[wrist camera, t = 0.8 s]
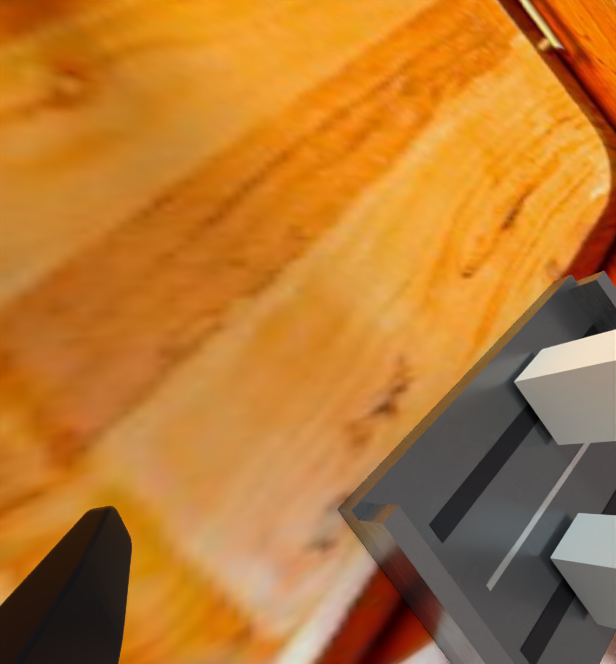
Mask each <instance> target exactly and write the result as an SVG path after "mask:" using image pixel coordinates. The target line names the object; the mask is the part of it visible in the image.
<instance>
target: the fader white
mask: <svg viewBox="0 0 616 664" xmlns="http://www.w3.org/2000/svg"><path fill="white" fill-rule="evenodd" d="M514 383H515V384H516V386H517V387H518V388H519V390H520V391H521V393H522V394H523V395H524V397H525V398H526V400H527V401H528V403H529V404H530V405H531V407H532V408H533V410H534V411H535V413H536V414H537V415H538V417H539V418H540V420H541V421H542V423H543V424H544V425H545V427H546V428H547V430H548V431H549V432H550V434H551V435H552V437H553V438H554V440H555V441H556V442H557V444H558V445H566V444H580V443H595V442H609V441H616V330H612V331H608V332H604V333H601V334H597V335H593V336H589V337H586V338H582V339H578V340H575V341H571V342H567V343H563V344H560V345H556V346H552V347H549V348H545V349H542V350H541V351H540V352H539V353H538V355H537V356H536V357H535V358H534V359H533V360H532V362H531V363H530V364H529V365H528V366H527V367H526V369H525V370H524V371H523V372H522V373H521V374H520V375H519V377H518V378H517V379H516V380H515V381H514Z"/></svg>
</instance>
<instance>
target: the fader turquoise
mask: <svg viewBox="0 0 616 664" xmlns="http://www.w3.org/2000/svg"><path fill="white" fill-rule="evenodd" d="M550 558H551V560H552V561H553V563H554V564H555V565H556V567H557V568H558V570H559V571H560V572H561V574H562V575H563V577H564V578H565V579H566V581H567V582H568V584H569V585H570V586H571V588H572V589H573V591H574V592H575V593H576V595H577V596H578V598H579V599H580V600H581V602H582V603H583V605H584V606H585V607H586V609H587V610H588V612H589V613H590V614H591V616H592V617H593V619H594V620H595V621H596V623H597V624H599V625H602V626H606V627H610V628H614V629H616V515H601V514H585V513H578V514H577V516H576V518H575V519H574V521H573V522H572V524H571V525H570V527H569V529H568V530H567V532H566V533H565V535H564V537H563V538H562V540H561V541H560V543H559V545H558V546H557V548H556V549H555V551H554V552H553V554H552V556H551V557H550Z"/></svg>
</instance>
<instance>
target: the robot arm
mask: <svg viewBox="0 0 616 664" xmlns="http://www.w3.org/2000/svg"><path fill="white" fill-rule="evenodd" d="M131 553H132V543H131V538H130V535H129V533H128V531H127V529H126V527H125V525H124V523H123V521H122V519H121V517H120V515H119V513H118V511H117V510H116V508H114V507H113V506H106V507H100V508H94V509H91V510H89V511H87V512H86V513H85V514H84V515H83V516H82V518H81V519H80V520H79V521H78V522H77V523H76V524H75V525H74V526H73V527H72V528H71V529H70V531H69V532H68V533H67V534H66V535H65V536H64V537H63V538H62V539H61V540H60V541H59V543H58V544H57V545H56V546H55V547H54V548H53V549H52V550H51V551H50V552H49V553H48V554H47V556H46V557H45V558H44V559H43V560H42V561H41V562H40V563H39V564H38V565H37V566H36V568H35V569H34V570H33V571H32V572H31V573H30V574H29V575H28V576H27V577H26V578H25V579H24V581H23V582H22V583H21V584H20V585H19V586H18V587H17V588H16V589H15V590H14V591H13V593H12V594H11V595H10V596H9V597H8V598H7V599H6V600H5V601H4V602H3V603H2V604H1V606H0V664H118V662H119V657H120V651H121V646H122V640H123V633H124V625H125V615H126V605H127V594H128V584H129V574H130V564H131Z"/></svg>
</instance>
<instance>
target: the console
mask: <svg viewBox="0 0 616 664" xmlns="http://www.w3.org/2000/svg"><path fill="white" fill-rule="evenodd" d="M612 330H616V288H615V286H614V285H613V283H612V282H611V280H610V279H609V277H608V276H607V275H606V273H605V272H604V271H602V272H600V273H597V274H594V275H592V276H589V277H587V278H584V279H581V280H579V281H576V280H575V279H574V277H573V276H572V275H569V276H567V277H564V278H562V279H559V280H557V281H554V283H553V284H552V285H551V286H550V287H549V288H548V289H547V290H546V291H545V292H544V293H543V294H542V295H541V296H540V297H539V298H538V299H537V300H536V301H535V302H534V304H533V305H532V306H531V307H530V308H529V309H528V310H527V311H526V312H525V313H524V314H523V315H522V316H521V317H520V318H519V319H518V320H517V321H516V322H515V323H514V324H513V326H512V327H511V328H510V329H509V330H508V331H507V332H506V333H505V334H504V335H503V336H502V337H501V338H500V339H499V340H498V341H497V342H496V343H495V344H494V345H493V347H492V348H491V349H490V350H489V351H488V352H487V353H486V354H485V355H484V356H483V357H482V358H481V359H480V360H479V361H478V362H477V363H476V364H475V365H474V366H473V367H472V369H471V370H470V371H469V372H468V373H467V374H466V375H465V376H464V377H463V378H462V379H461V380H460V381H459V382H458V383H457V384H456V385H455V386H454V387H453V388H452V389H451V391H450V392H449V393H448V394H447V395H446V396H445V397H444V398H443V399H442V400H441V401H440V402H439V403H438V404H437V405H436V406H435V407H434V408H433V409H432V410H431V412H430V413H429V414H428V415H427V416H426V417H425V418H424V419H423V420H422V421H421V422H420V423H419V424H418V425H417V426H416V427H415V428H414V429H413V430H412V431H411V432H410V434H409V435H408V436H407V437H406V438H405V439H404V440H403V441H402V442H401V443H400V444H399V445H398V446H397V447H396V448H395V449H394V450H393V451H392V452H391V453H390V455H389V456H388V457H387V458H386V459H385V460H384V461H383V462H382V463H381V464H380V465H379V466H378V467H377V468H376V469H375V470H374V471H373V472H372V473H371V474H370V475H369V477H368V478H367V479H366V480H365V481H364V482H363V483H362V484H361V485H360V486H359V487H358V488H357V489H356V490H355V491H354V492H353V493H352V494H351V495H350V496H349V498H348V499H347V500H346V501H345V502H344V503H343V504H342V505H341V506H340V507H339V508H338V510H339V512H340V513H341V514H342V516H343V517H344V518H345V520H346V521H347V523H348V524H349V525H350V527H351V528H352V529H353V531H354V532H355V533H356V535H357V536H358V537H359V539H360V540H361V542H362V543H363V544H364V546H365V547H366V548H367V550H368V551H369V552H370V554H371V555H372V556H373V558H374V559H375V561H376V562H377V563H378V565H379V566H380V567H381V569H382V570H383V571H384V573H385V574H386V575H387V577H388V578H389V580H390V581H391V582H392V584H393V585H394V586H395V588H396V589H397V590H398V592H399V593H400V594H401V596H402V597H403V599H404V600H405V601H406V603H407V604H408V605H409V607H410V608H411V609H412V611H413V612H414V613H415V615H416V616H417V618H418V619H419V620H420V622H421V623H422V624H423V626H424V627H425V628H426V630H427V631H428V632H429V634H430V635H431V637H432V638H433V639H434V641H435V642H436V643H437V645H438V646H439V647H440V649H441V650H442V651H443V653H444V654H445V656H446V657H447V658H448V660H449V661H450V662H451V664H600V662H601V660H602V658H603V656H604V654H605V652H606V650H607V648H608V646H609V644H610V642H611V640H612V638H613V636H614V634H615V632H616V629H614V628H610V627H606V626H602V625H599V624H597V623H596V621H595V620H594V619H593V617H592V616H591V614H590V613H589V612H588V610H587V609H586V607H585V606H584V605H583V603H582V602H581V600H580V599H579V598H578V596H577V595H576V593H575V592H574V591H573V589H572V588H571V586H570V585H569V584H568V582H567V581H566V579H565V578H564V577H563V575H562V574H561V572H560V571H559V570H558V568H557V567H556V565H555V564H554V563H553V561H552V560H551V558H550V557H551V556H552V554H553V552H554V551H555V549H556V548H557V546H558V545H559V543H560V541H561V540H562V538H563V537H564V535H565V533H566V532H567V530H568V529H569V527H570V525H571V524H572V522H573V521H574V519H575V518H576V516H577V514H578V513H585V514H601V515H616V441H609V442H595V443H580V444H566V445H558V444H557V442H556V441H555V440H554V438H553V437H552V435H551V434H550V432H549V431H548V430H547V428H546V427H545V425H544V424H543V423H542V421H541V420H540V418H539V417H538V415H537V414H536V413H535V411H534V410H533V408H532V407H531V405H530V404H529V403H528V401H527V400H526V398H525V397H524V395H523V394H522V393H521V391H520V390H519V388H518V387H517V386H516V384H515V383H514V381H515V380H516V379H517V378H518V377H519V375H520V374H521V373H522V372H523V371H524V370H525V369H526V367H527V366H528V365H529V364H530V363H531V362H532V360H533V359H534V358H535V357H536V356H537V355H538V353H539V352H540V351H541V350H542V349H545V348H549V347H552V346H556V345H560V344H563V343H567V342H571V341H575V340H578V339H582V338H586V337H589V336H593V335H597V334H601V333H604V332H608V331H612Z"/></svg>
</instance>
